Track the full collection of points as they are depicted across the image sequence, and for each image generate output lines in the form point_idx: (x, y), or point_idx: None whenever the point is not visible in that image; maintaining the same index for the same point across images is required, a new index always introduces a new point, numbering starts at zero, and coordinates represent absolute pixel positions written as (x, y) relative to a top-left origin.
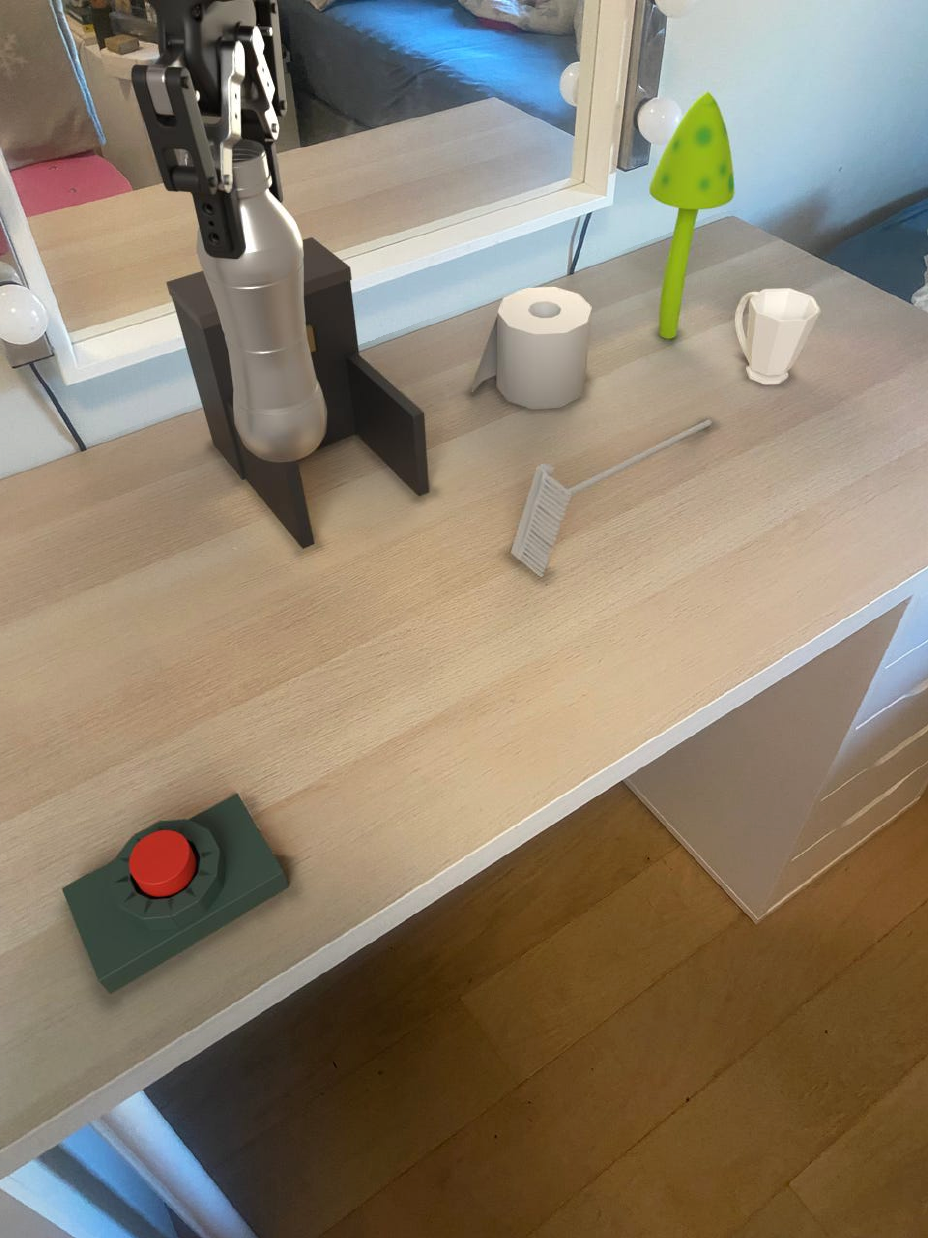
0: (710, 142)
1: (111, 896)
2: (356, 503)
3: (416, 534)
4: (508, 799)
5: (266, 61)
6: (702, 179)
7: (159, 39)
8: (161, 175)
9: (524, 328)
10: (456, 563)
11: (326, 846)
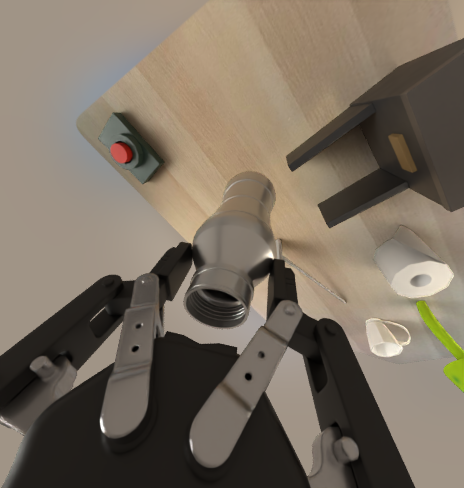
0: None
1: (117, 132)
2: (317, 176)
3: (292, 205)
4: (186, 234)
5: (319, 405)
6: (459, 381)
7: (17, 452)
8: (90, 286)
9: (402, 271)
10: (274, 220)
11: (161, 189)
